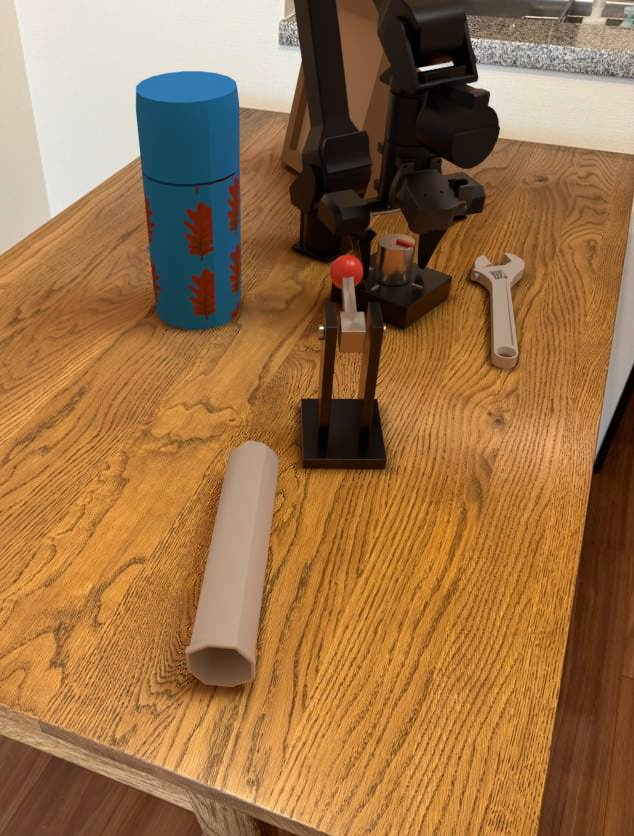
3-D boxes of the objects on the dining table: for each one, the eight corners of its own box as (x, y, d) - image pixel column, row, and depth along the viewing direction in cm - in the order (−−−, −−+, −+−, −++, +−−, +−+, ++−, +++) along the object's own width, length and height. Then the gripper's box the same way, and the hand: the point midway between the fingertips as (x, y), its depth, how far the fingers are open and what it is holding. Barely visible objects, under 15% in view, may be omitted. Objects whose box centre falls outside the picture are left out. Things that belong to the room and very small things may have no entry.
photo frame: (348, 214, 116) (365, 16, 98) (280, 165, 130) (284, -16, 112) (431, 195, 120) (462, 2, 102) (356, 149, 134) (372, -28, 116)
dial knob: (367, 278, 96) (371, 240, 93) (387, 265, 98) (392, 227, 95) (397, 289, 94) (402, 251, 90) (417, 275, 96) (423, 238, 93)
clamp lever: (328, 276, 78) (330, 247, 76) (360, 276, 78) (363, 247, 76) (333, 356, 71) (336, 327, 69) (368, 356, 71) (372, 327, 68)
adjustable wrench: (516, 372, 87) (520, 358, 86) (457, 364, 88) (460, 350, 87) (522, 266, 103) (525, 254, 102) (472, 261, 105) (475, 249, 103)
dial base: (330, 300, 98) (331, 277, 96) (375, 271, 103) (378, 248, 101) (403, 330, 93) (407, 306, 91) (448, 298, 98) (452, 274, 96)
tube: (220, 435, 73) (172, 648, 56) (273, 424, 72) (242, 640, 54) (238, 477, 77) (199, 690, 59) (290, 467, 75) (266, 684, 58)
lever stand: (300, 407, 83) (306, 286, 73) (376, 407, 83) (392, 286, 73) (302, 468, 76) (310, 344, 66) (385, 469, 76) (405, 344, 66)
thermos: (255, 296, 100) (255, 76, 82) (219, 338, 93) (211, 108, 75) (179, 280, 103) (164, 66, 85) (139, 319, 96) (113, 95, 78)
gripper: (363, 177, 77) (349, 318, 88) (528, 151, 81) (494, 290, 92) (320, 139, 85) (312, 274, 96) (473, 117, 88) (448, 250, 100)
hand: (392, 273), depth 96 cm, fingers open, 7 cm apart
